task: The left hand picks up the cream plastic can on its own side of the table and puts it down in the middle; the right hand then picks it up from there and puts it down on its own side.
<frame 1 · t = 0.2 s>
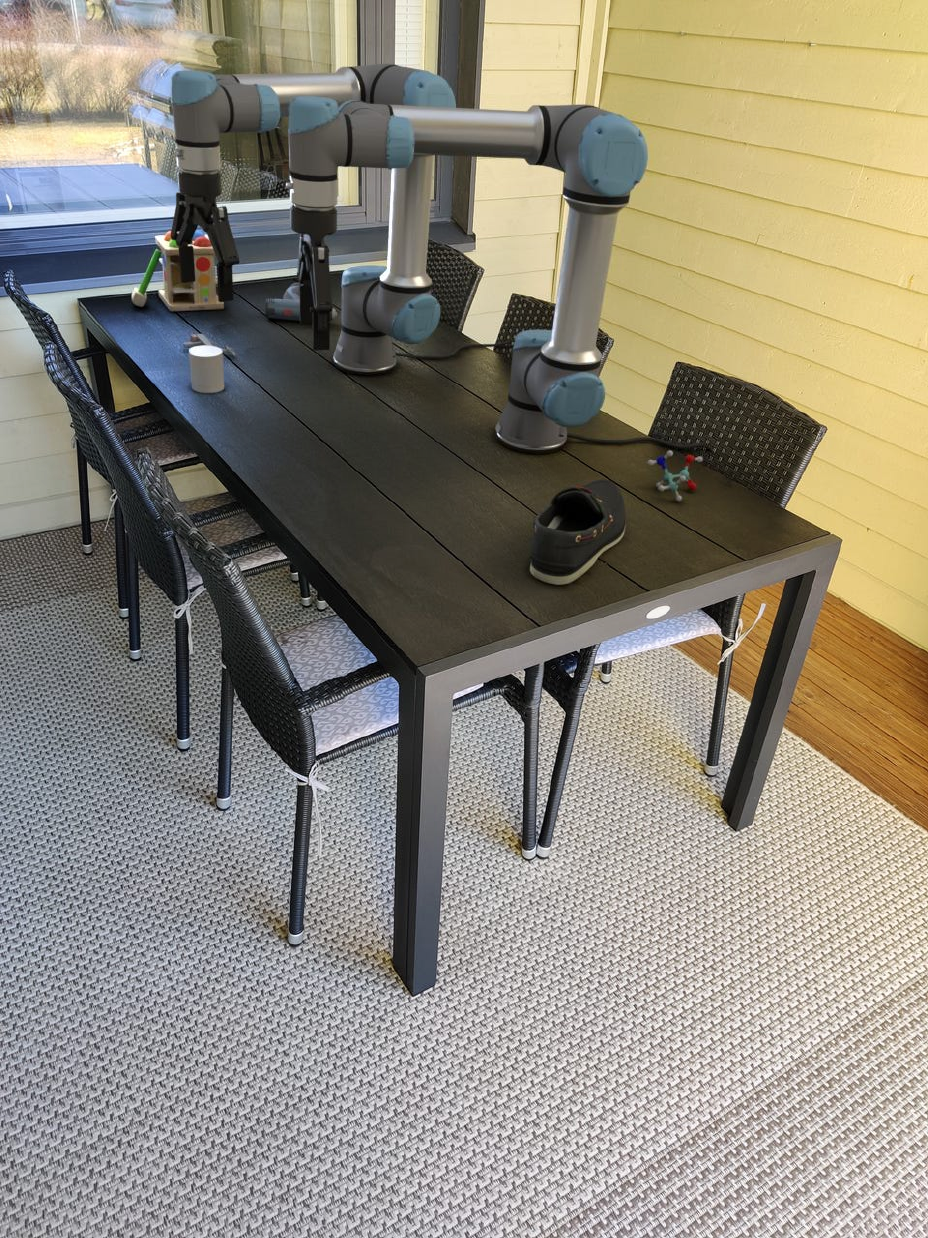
left hand: (206, 291, 186), 27 cm above the table, tool pointing down, fingers open, 13 cm apart
right hand: (314, 335, 169), 28 cm above the table, tool pointing down, fingers open, 13 cm apart
pounding bench toy: (175, 303, 264), on the table
molecular model: (669, 491, 194), on the table
clamp: (208, 353, 236), on the table
can: (208, 386, 219), on the table
power drill: (305, 313, 267), on the table
boat shoe: (576, 542, 174), on the table
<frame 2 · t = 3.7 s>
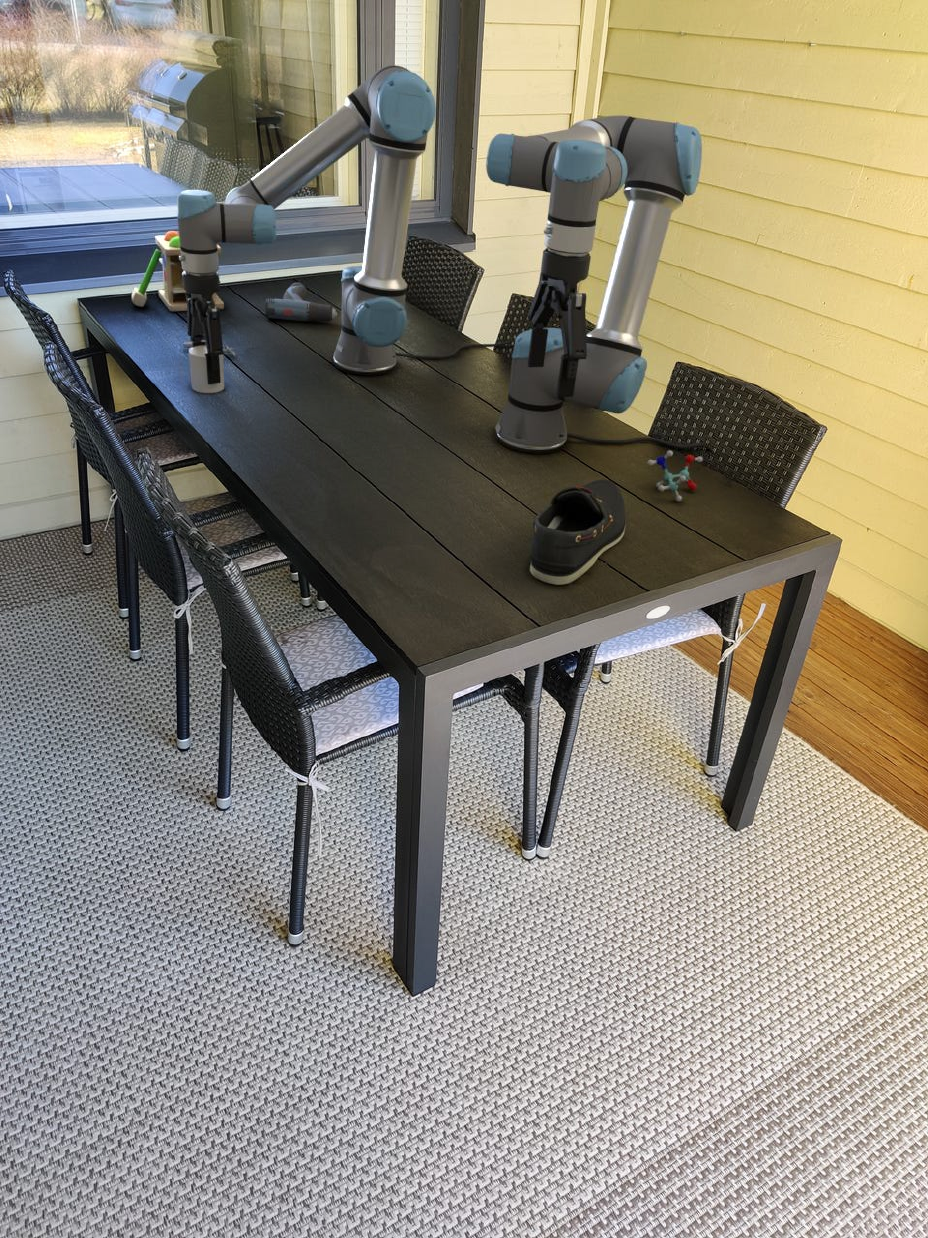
left hand: (207, 376, 217), 2 cm above the table, tool pointing down, fingers closed on can, 7 cm apart
right hand: (549, 381, 165), 26 cm above the table, tool pointing down, fingers open, 13 cm apart
can: (208, 386, 219), on the table, touching left hand
everything else where it was.
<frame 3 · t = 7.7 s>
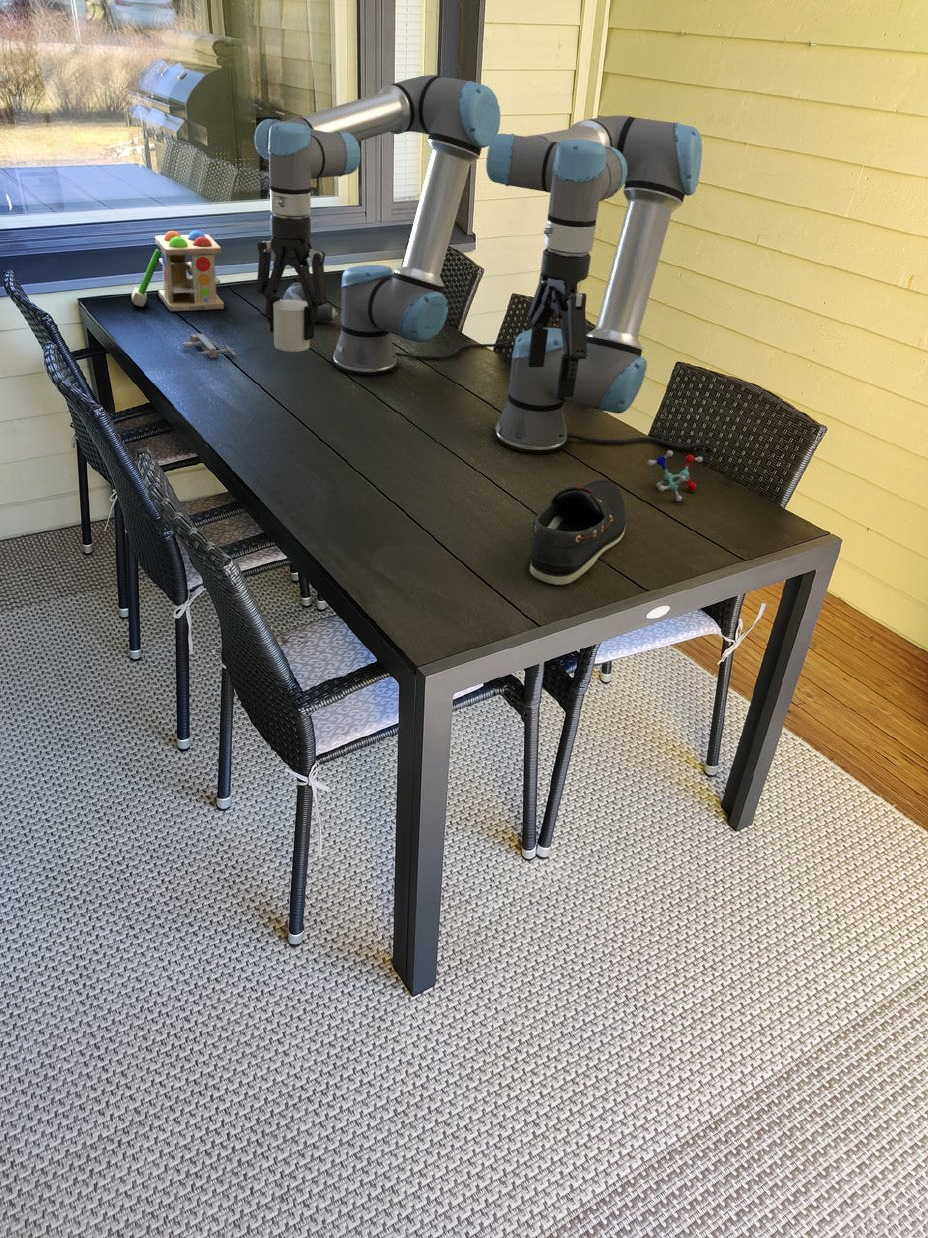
left hand: (292, 333, 198), 18 cm above the table, tool pointing down, fingers closed on can, 7 cm apart
right hand: (549, 381, 165), 26 cm above the table, tool pointing down, fingers open, 13 cm apart
can: (292, 345, 199), point 16 cm above the table, touching left hand
everything else where it was.
when the left hand's fingers open (4 cm above the table, at t = 11.9 s): can drops 1 cm, on the table.
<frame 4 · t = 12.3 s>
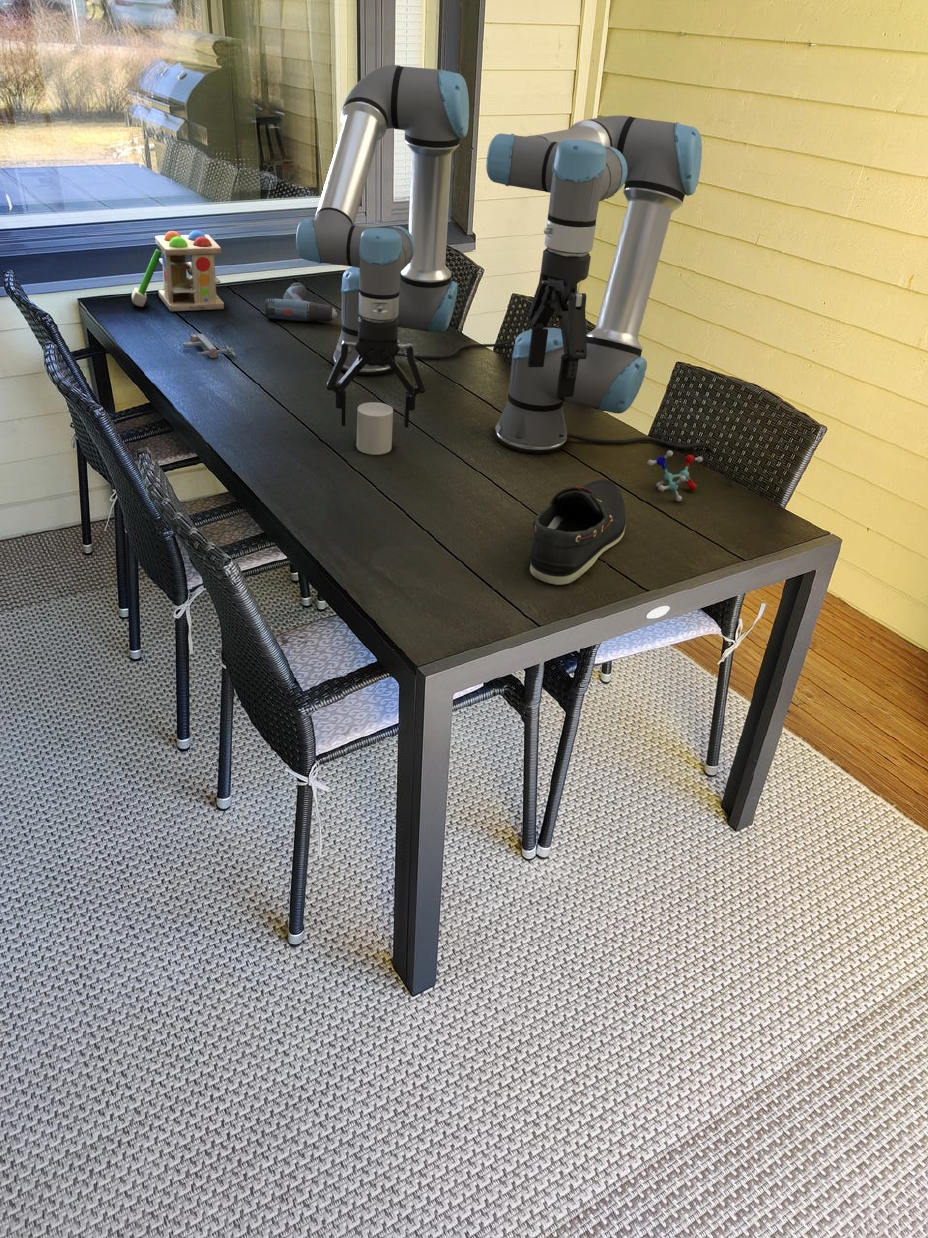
left hand: (374, 424, 197), 5 cm above the table, tool pointing down, fingers open, 12 cm apart
right hand: (549, 381, 165), 26 cm above the table, tool pointing down, fingers open, 13 cm apart
can: (374, 447, 200), on the table
everything else where it was.
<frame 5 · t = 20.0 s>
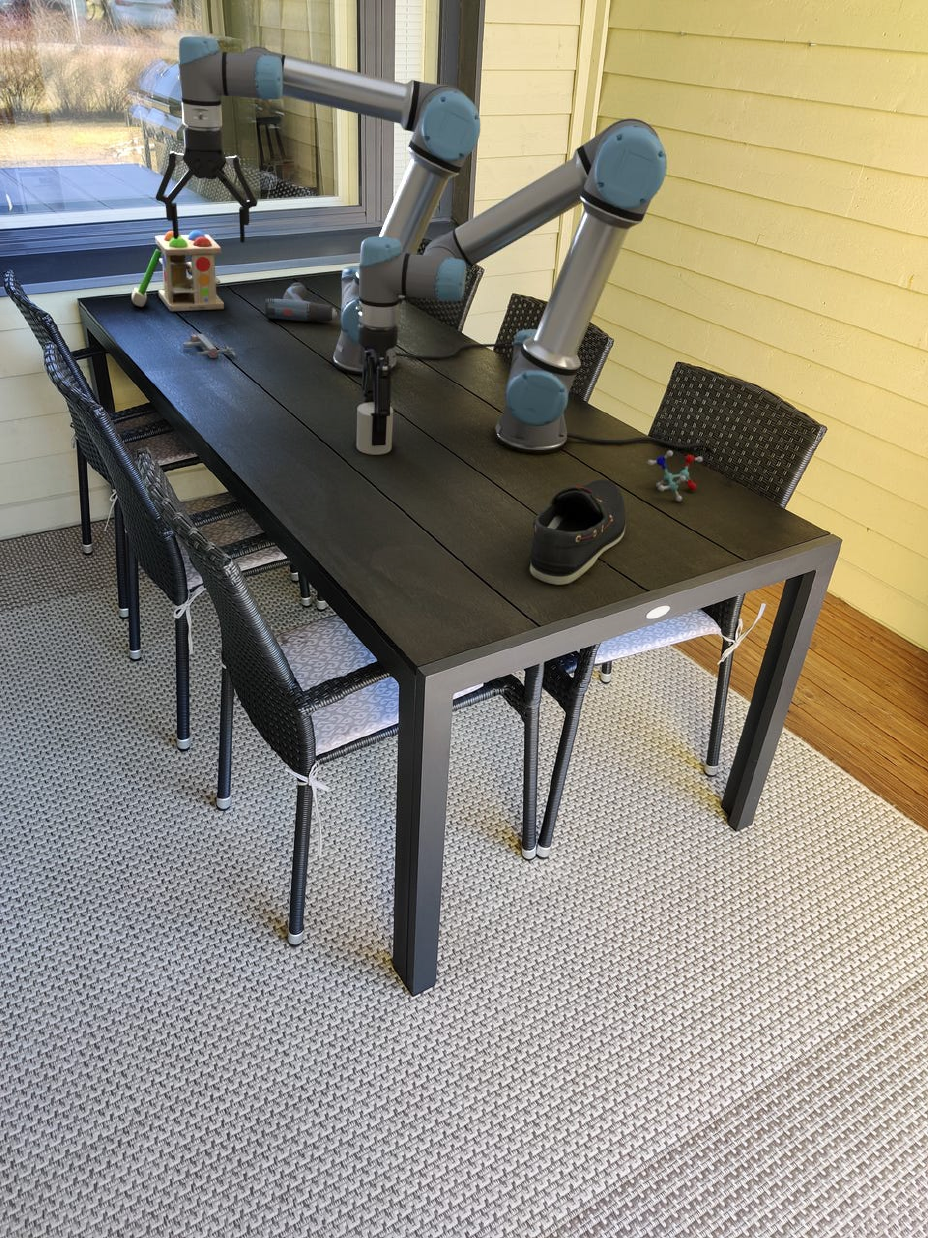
left hand: (209, 239, 206), 30 cm above the table, tool pointing down, fingers open, 13 cm apart
right hand: (374, 436, 198), 2 cm above the table, tool pointing down, fingers closed on can, 7 cm apart
can: (374, 447, 200), on the table, touching right hand
everything else where it was.
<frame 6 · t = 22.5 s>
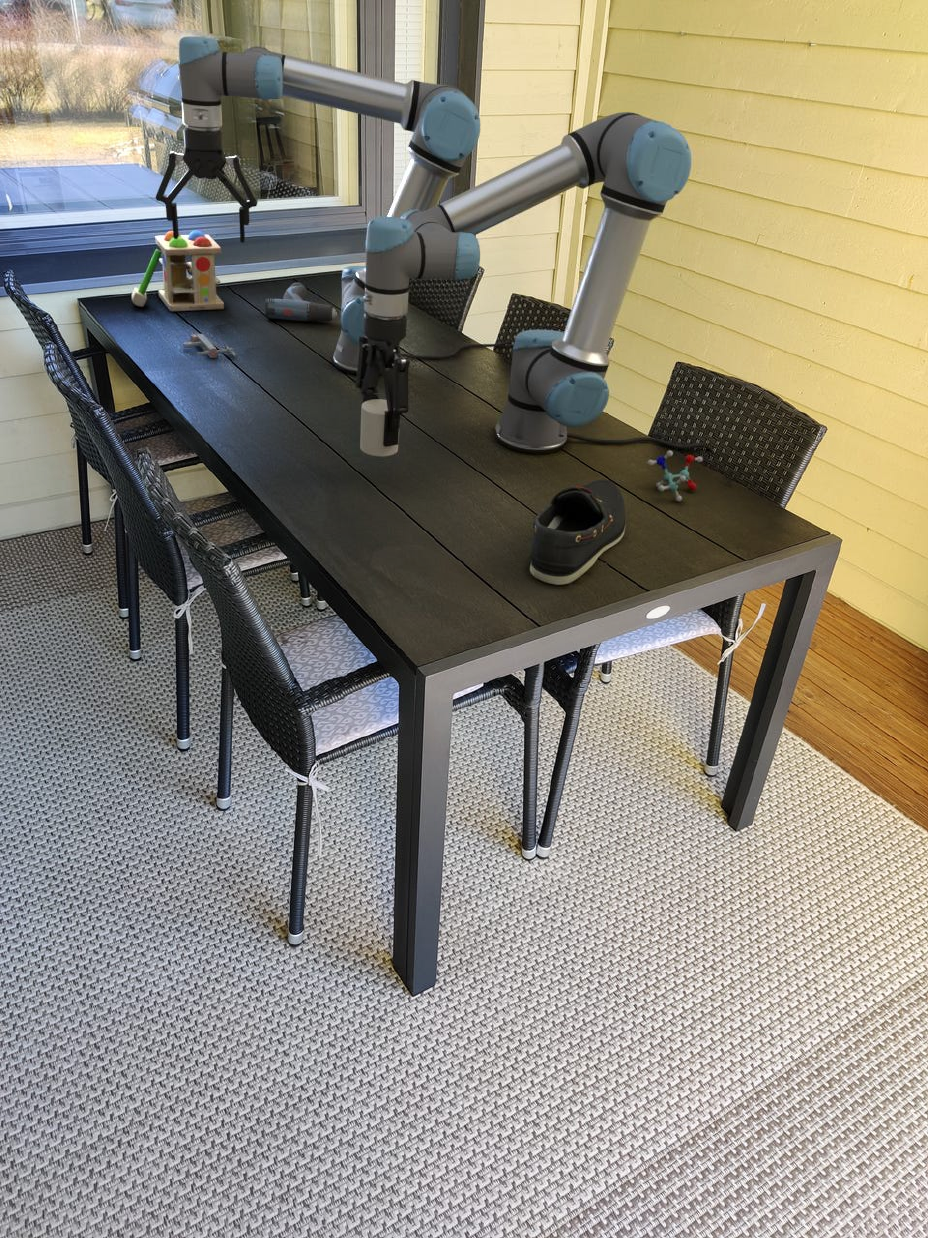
left hand: (209, 239, 206), 30 cm above the table, tool pointing down, fingers open, 13 cm apart
right hand: (379, 436, 182), 9 cm above the table, tool pointing down, fingers closed on can, 7 cm apart
can: (379, 448, 184), point 7 cm above the table, touching right hand
everything else where it was.
when the right hand's fingers open (4 cm above the table, at t = 25.2 s): can drops 1 cm, on the table.
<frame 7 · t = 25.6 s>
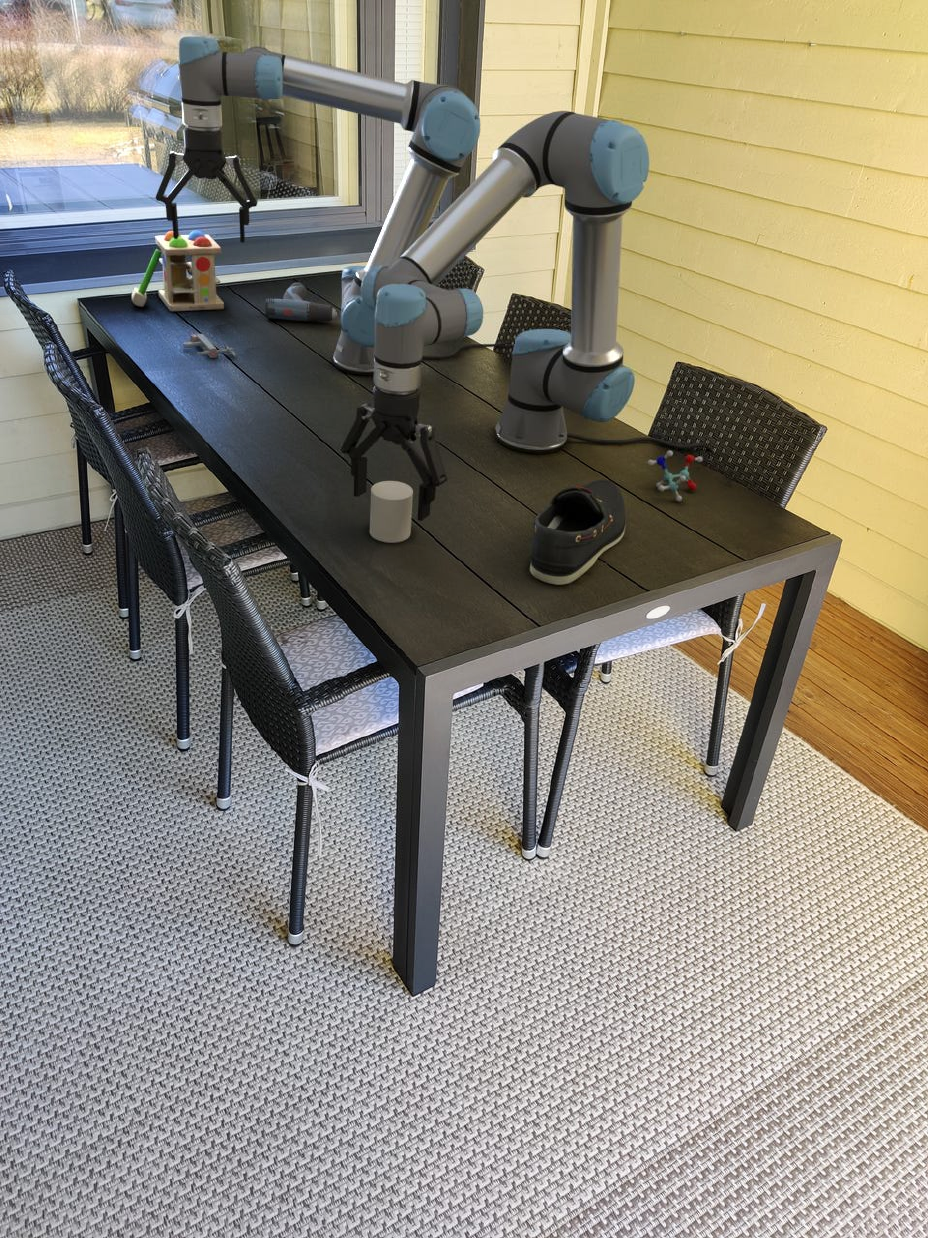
left hand: (209, 239, 206), 30 cm above the table, tool pointing down, fingers open, 13 cm apart
right hand: (391, 505, 168), 5 cm above the table, tool pointing down, fingers open, 13 cm apart
can: (390, 532, 171), on the table
everything else where it was.
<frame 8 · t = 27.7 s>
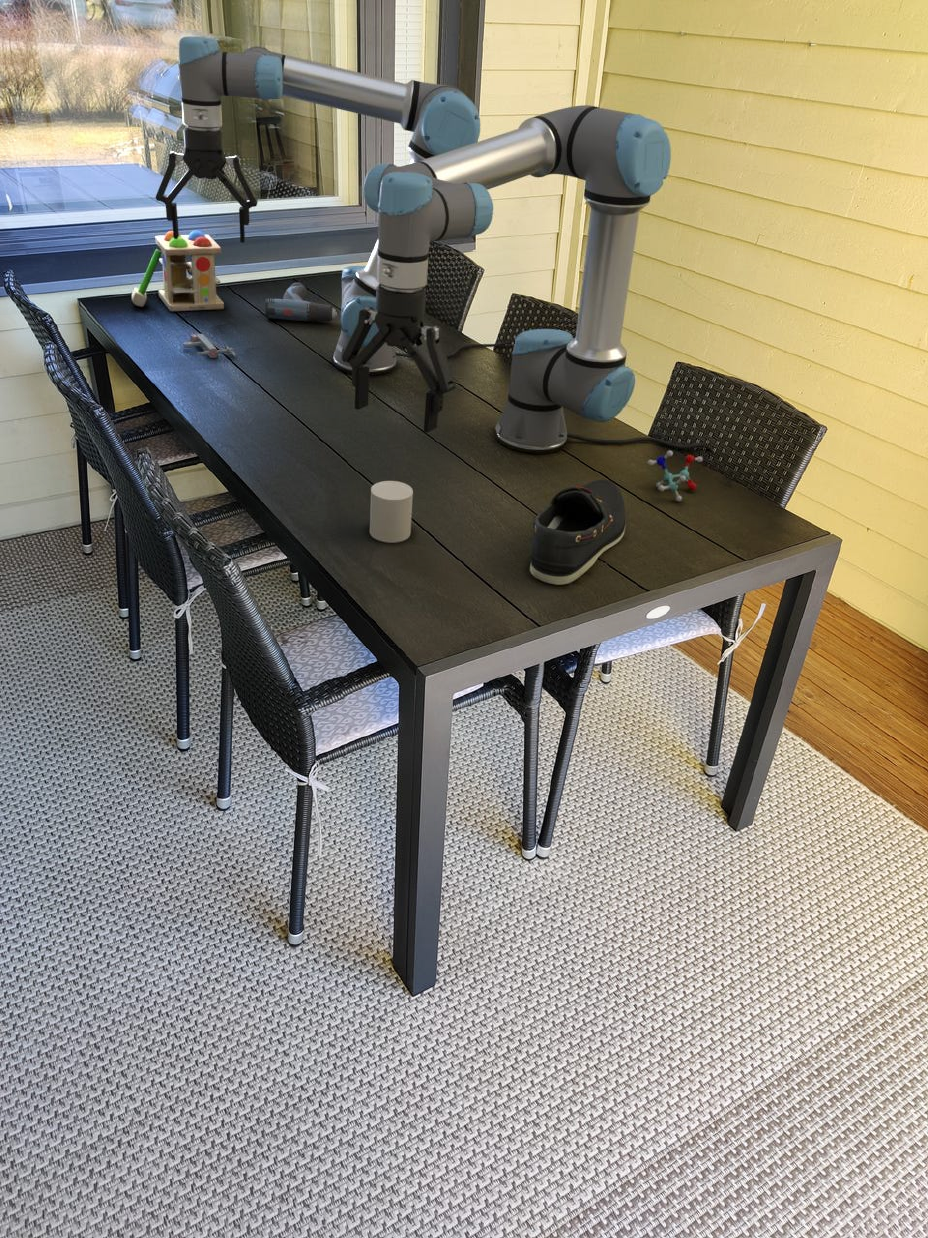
left hand: (209, 239, 206), 30 cm above the table, tool pointing down, fingers open, 13 cm apart
right hand: (395, 418, 159), 21 cm above the table, tool pointing down, fingers open, 13 cm apart
nothing on the table moved.
at the end: can inside the target area (0.0 cm from its centre), on the table; can tilted 0°; the two hands never held the can at the same time; the left hand is holding nothing; the right hand is holding nothing; can at rest at the end (0.0 cm/s) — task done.
